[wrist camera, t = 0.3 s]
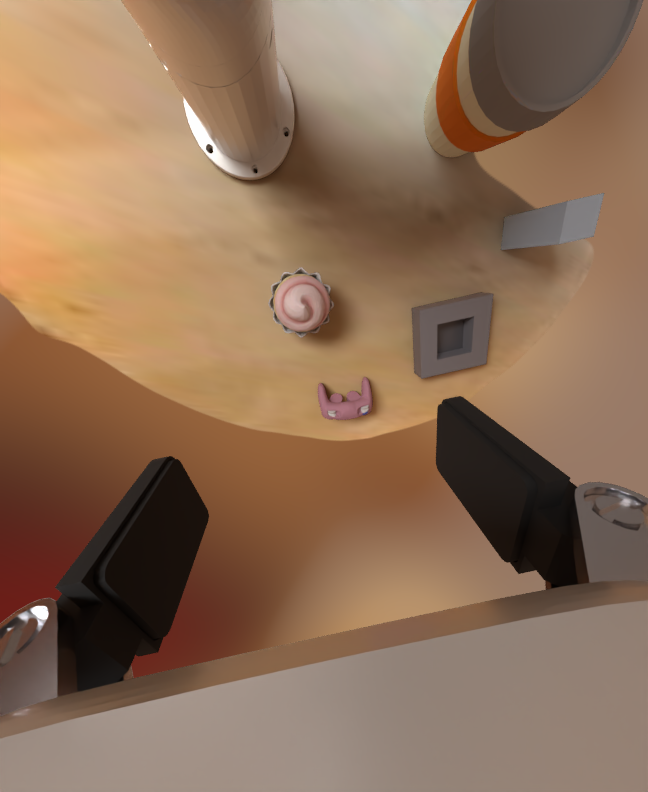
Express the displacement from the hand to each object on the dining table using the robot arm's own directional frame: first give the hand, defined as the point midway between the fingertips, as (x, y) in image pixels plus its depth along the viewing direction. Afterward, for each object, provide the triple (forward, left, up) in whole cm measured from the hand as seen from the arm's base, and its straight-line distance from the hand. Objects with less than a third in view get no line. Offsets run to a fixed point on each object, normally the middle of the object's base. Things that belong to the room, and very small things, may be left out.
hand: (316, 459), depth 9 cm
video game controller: (+16, +5, -36) cm, 40 cm away
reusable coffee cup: (-20, +26, -36) cm, 49 cm away
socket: (+9, +25, -36) cm, 45 cm away
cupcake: (-2, +1, -36) cm, 36 cm away
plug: (-5, +36, -36) cm, 51 cm away
